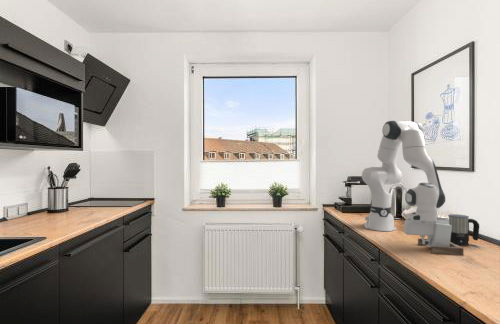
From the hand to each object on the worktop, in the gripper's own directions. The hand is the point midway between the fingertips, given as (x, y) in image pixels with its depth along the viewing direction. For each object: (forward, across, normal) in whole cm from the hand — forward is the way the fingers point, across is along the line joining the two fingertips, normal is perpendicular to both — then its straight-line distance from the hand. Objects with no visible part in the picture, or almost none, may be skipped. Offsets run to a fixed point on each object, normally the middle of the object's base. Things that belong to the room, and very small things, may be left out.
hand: (425, 244), depth 153 cm
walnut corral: (+2, -6, 0) cm, 7 cm away
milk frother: (+2, -24, -18) cm, 30 cm away
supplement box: (+2, -6, 0) cm, 6 cm away
